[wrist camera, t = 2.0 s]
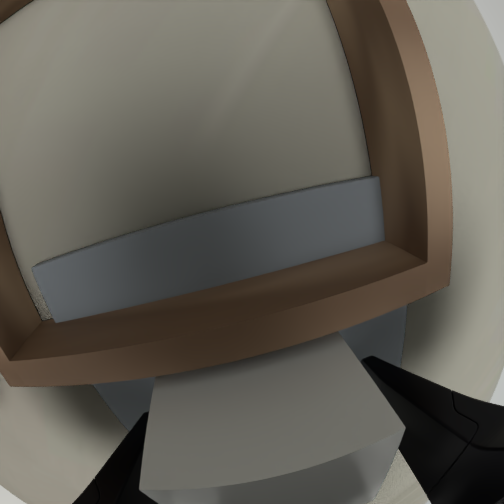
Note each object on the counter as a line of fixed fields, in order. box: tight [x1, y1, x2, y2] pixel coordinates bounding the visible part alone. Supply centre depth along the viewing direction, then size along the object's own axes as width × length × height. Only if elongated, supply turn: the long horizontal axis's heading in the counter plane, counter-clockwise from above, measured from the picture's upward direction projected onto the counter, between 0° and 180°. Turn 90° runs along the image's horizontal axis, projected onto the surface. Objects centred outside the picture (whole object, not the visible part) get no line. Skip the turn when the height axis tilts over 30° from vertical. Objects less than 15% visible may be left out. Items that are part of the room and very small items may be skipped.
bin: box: [0, 0, 453, 387], centre depth 5 cm, size 14×14×2 cm
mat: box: [31, 176, 407, 431], centre depth 9 cm, size 12×12×1 cm
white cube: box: [139, 331, 406, 504], centre depth 7 cm, size 5×5×5 cm
